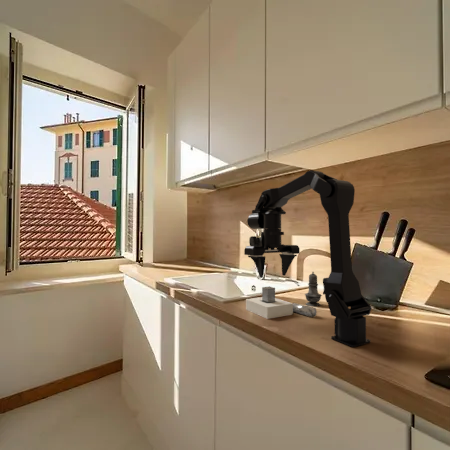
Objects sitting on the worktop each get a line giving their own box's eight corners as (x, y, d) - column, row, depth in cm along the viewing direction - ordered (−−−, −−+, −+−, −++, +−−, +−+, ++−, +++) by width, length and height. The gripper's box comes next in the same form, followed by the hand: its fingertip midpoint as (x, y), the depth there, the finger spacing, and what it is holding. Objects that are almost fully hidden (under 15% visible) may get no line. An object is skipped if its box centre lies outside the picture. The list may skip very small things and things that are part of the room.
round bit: (317, 313, 93) (314, 305, 92) (312, 319, 91) (309, 311, 90) (296, 308, 99) (294, 300, 98) (291, 313, 97) (289, 306, 96)
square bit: (275, 312, 96) (275, 288, 96) (267, 313, 95) (267, 288, 95) (269, 310, 99) (269, 286, 99) (262, 311, 97) (262, 287, 98)
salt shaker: (316, 307, 102) (316, 273, 102) (301, 304, 106) (301, 271, 107) (324, 304, 106) (324, 271, 107) (309, 301, 111) (309, 269, 111)
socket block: (292, 314, 94) (292, 303, 94) (267, 318, 89) (267, 307, 89) (269, 305, 104) (269, 296, 105) (245, 309, 100) (245, 299, 100)
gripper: (278, 229, 108) (279, 271, 108) (235, 229, 99) (235, 275, 99) (300, 228, 98) (300, 275, 98) (254, 228, 89) (254, 280, 89)
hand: (272, 276), depth 96 cm, fingers open, 9 cm apart
